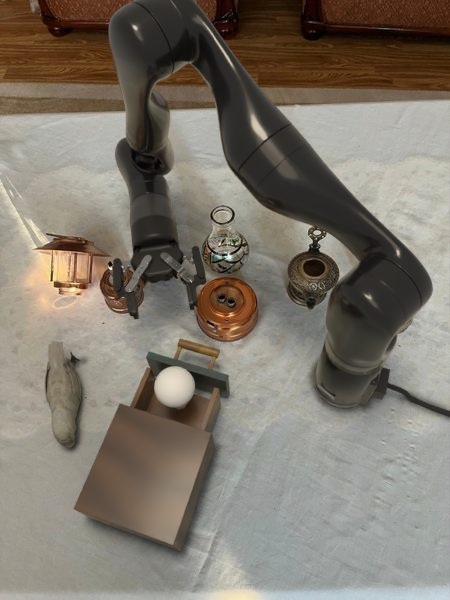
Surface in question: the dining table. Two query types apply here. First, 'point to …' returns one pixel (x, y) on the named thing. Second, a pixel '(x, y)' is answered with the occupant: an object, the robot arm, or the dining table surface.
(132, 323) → the dining table surface
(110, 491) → the cabinet
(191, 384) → the lightbulb
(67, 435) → the decorative bird
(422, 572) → the dining table surface
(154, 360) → the drawer
